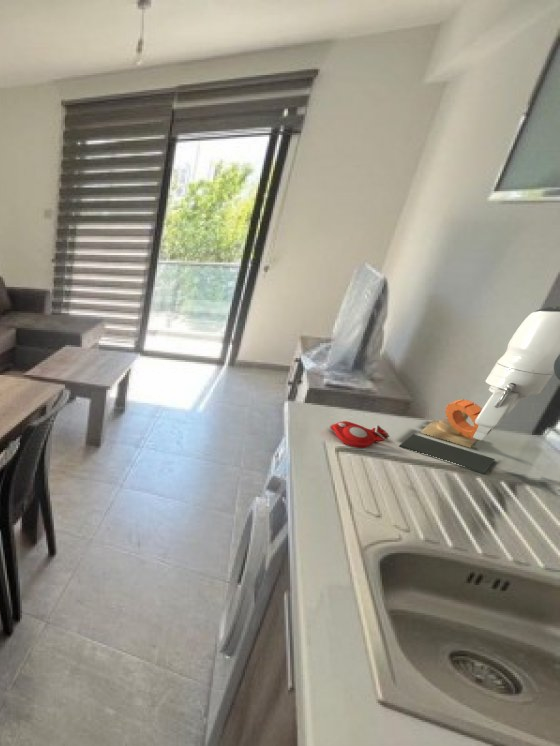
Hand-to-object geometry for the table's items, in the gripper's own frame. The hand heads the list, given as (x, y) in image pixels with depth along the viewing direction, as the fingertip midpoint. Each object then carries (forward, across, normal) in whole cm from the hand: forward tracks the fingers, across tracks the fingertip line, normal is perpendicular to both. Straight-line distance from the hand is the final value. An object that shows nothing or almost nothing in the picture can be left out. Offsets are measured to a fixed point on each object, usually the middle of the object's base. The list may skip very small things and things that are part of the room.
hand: (480, 435), depth 113 cm
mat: (+7, 0, +4) cm, 8 cm away
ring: (-2, 0, +4) cm, 5 cm away
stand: (+7, +15, +6) cm, 17 cm away
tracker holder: (+7, -12, +19) cm, 23 cm away
